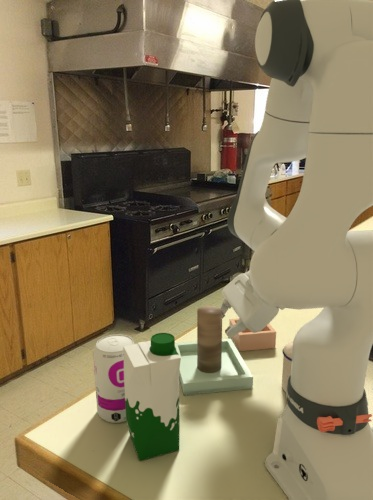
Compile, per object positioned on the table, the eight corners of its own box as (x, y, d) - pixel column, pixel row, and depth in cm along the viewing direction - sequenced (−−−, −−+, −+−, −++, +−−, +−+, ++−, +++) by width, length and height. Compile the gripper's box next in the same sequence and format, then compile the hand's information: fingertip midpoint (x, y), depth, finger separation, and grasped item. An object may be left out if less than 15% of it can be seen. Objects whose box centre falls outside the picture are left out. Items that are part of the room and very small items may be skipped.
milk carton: (186, 452, 73) (185, 347, 68) (134, 467, 70) (129, 357, 65) (169, 421, 81) (167, 325, 76) (122, 433, 78) (117, 333, 73)
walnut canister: (224, 371, 96) (225, 314, 93) (199, 374, 95) (200, 316, 92) (218, 359, 102) (218, 304, 98) (195, 361, 101) (195, 306, 97)
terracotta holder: (275, 348, 109) (276, 331, 107) (239, 351, 107) (239, 335, 106) (262, 331, 118) (263, 316, 117) (229, 334, 116) (229, 319, 115)
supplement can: (146, 416, 83) (143, 346, 79) (105, 430, 79) (100, 357, 75) (130, 394, 89) (127, 329, 86) (92, 407, 86) (87, 339, 82)
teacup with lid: (314, 407, 85) (318, 354, 82) (273, 391, 90) (275, 341, 87) (335, 380, 94) (340, 332, 91) (296, 367, 99) (300, 321, 96)
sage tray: (252, 388, 91) (253, 376, 91) (183, 395, 89) (183, 383, 88) (230, 348, 108) (230, 338, 108) (172, 353, 106) (172, 343, 105)
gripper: (241, 260, 105) (202, 300, 106) (272, 289, 85) (224, 337, 86) (258, 276, 107) (220, 315, 108) (291, 308, 87) (244, 355, 88)
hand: (222, 325), depth 97 cm, fingers open, 8 cm apart
